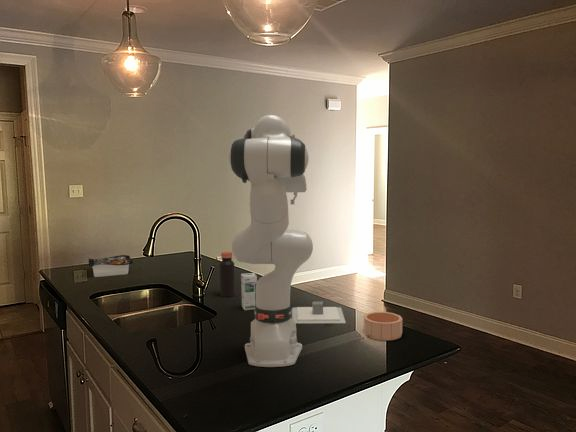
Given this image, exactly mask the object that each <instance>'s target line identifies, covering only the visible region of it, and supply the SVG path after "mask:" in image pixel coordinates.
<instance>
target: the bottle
mask: <svg viewBox="0 0 576 432" xmlns="http://www.w3.org/2000/svg"><path fill="white" fill-rule="evenodd" d="M220 258H221V261H220V262H219V295H220V297H222V298H231V297H234V296H235V295H236V287H235V286H236V285H235V284H236V283H235V282H236V280H235V279H236V278H235V277H236V276H235V275H236V274H235V273H236V272H235V262H234V261H233V260H232V259H233V252H231V251H222V252H221V254H220Z"/></svg>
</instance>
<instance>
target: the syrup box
mask: <svg viewBox="0 0 576 432" xmlns="http://www.w3.org/2000/svg"><path fill="white" fill-rule="evenodd" d="M240 279H241V280H240V282H241V283H240V284H241V307H242V309H243V310H244V311H250V310H251V311H253V310H255V305H256V283H257V281H258V275H257V274H256V273H255V272H252V273H251V272H250V273H241V274H240Z"/></svg>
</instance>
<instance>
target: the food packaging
mask: <svg viewBox="0 0 576 432" xmlns="http://www.w3.org/2000/svg"><path fill="white" fill-rule="evenodd" d="M131 264H132V265H133V264H134V261H133V259H131V257H130V255H128V254H127V255H125V254H121V255H114V256H109V257H103V258H88V267H89V268H90V267H91V268H92V271H93V277H94V278H101V277H110V276H111V277H112V276H125V275H128V274H129V270H130V269H129V266H130V265H131Z"/></svg>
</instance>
